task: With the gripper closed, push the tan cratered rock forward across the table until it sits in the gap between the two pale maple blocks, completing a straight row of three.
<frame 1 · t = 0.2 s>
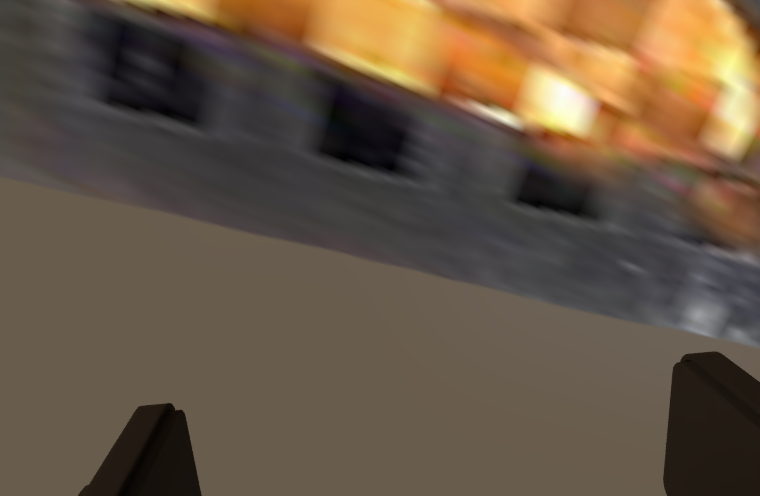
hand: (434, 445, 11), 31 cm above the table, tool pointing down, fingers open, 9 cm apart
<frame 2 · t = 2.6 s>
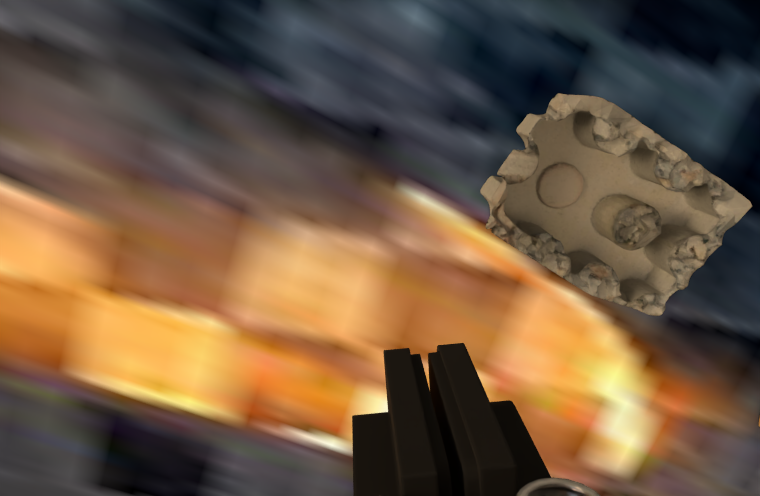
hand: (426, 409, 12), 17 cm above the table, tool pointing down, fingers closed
tan cratered rock: (586, 196, 29), on the table
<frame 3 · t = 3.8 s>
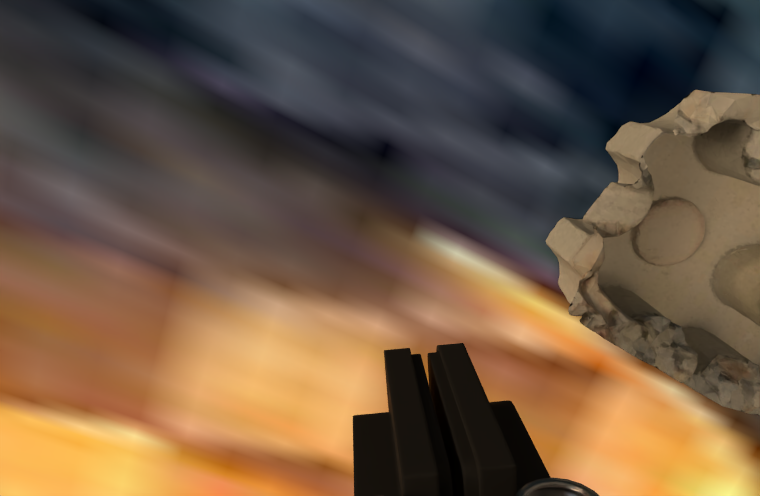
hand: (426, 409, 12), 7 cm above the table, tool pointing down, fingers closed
tan cratered rock: (705, 246, 19), on the table
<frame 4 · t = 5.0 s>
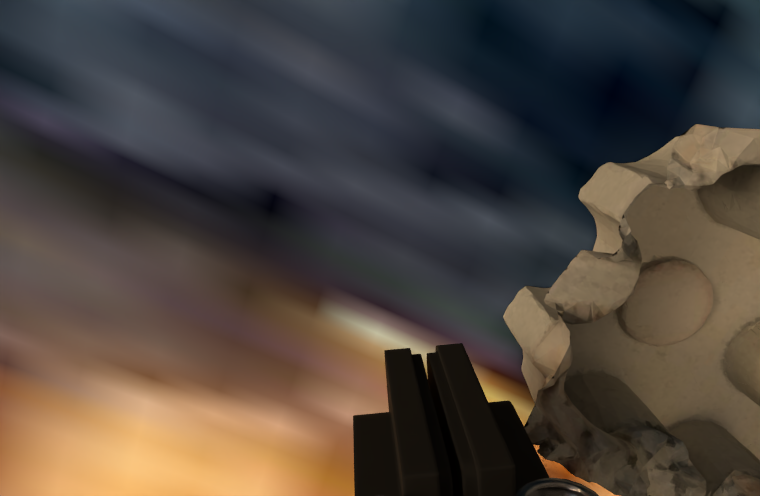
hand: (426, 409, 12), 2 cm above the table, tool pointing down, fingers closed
tan cratered rock: (714, 318, 14), on the table, touching gripper
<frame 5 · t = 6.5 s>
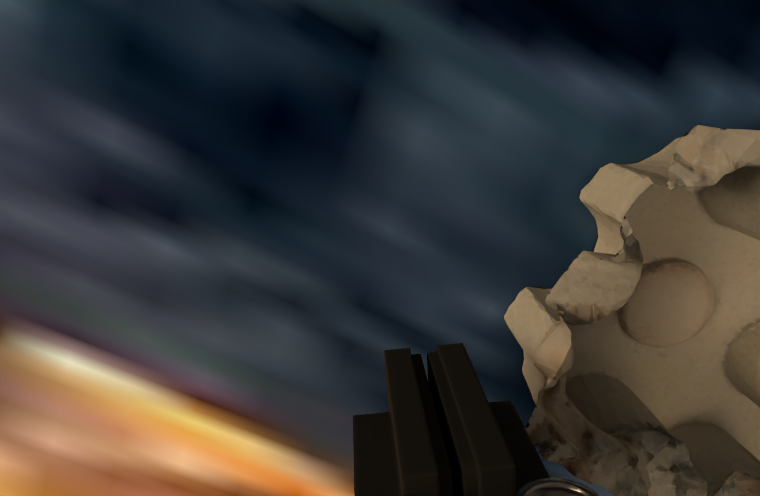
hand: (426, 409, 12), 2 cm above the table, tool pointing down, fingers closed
tan cratered rock: (714, 319, 14), on the table, touching gripper
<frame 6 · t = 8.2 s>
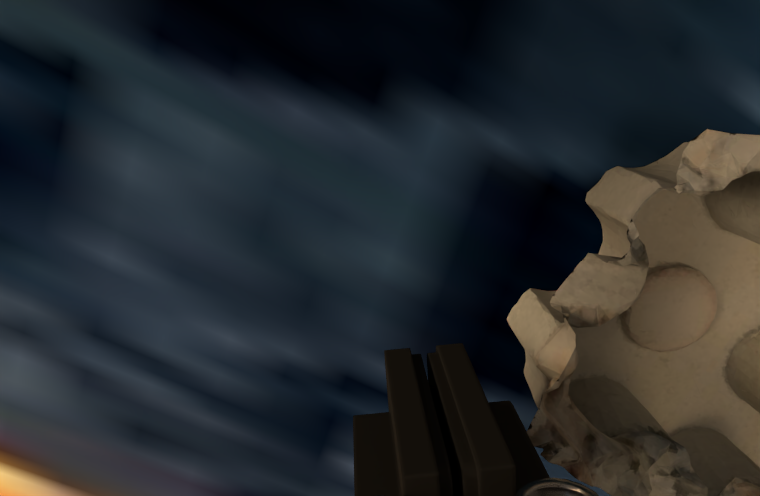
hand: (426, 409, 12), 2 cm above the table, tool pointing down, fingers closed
tan cratered rock: (717, 324, 14), on the table, touching gripper
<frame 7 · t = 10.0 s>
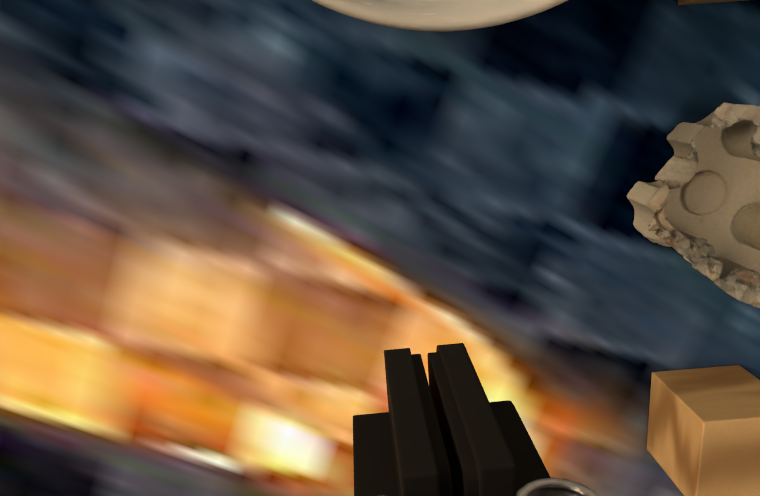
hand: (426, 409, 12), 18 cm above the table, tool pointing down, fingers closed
tan cratered rock: (727, 204, 30), on the table
maple block 1: (691, 407, 33), on the table
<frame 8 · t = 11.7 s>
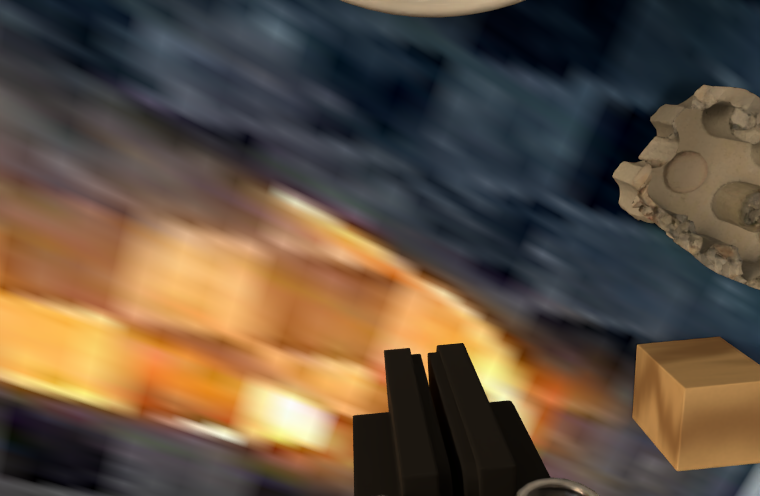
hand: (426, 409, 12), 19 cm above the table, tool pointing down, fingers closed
tan cratered rock: (707, 182, 31), on the table
maple block 1: (674, 377, 34), on the table
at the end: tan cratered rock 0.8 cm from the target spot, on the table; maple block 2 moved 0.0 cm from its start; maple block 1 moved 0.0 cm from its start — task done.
